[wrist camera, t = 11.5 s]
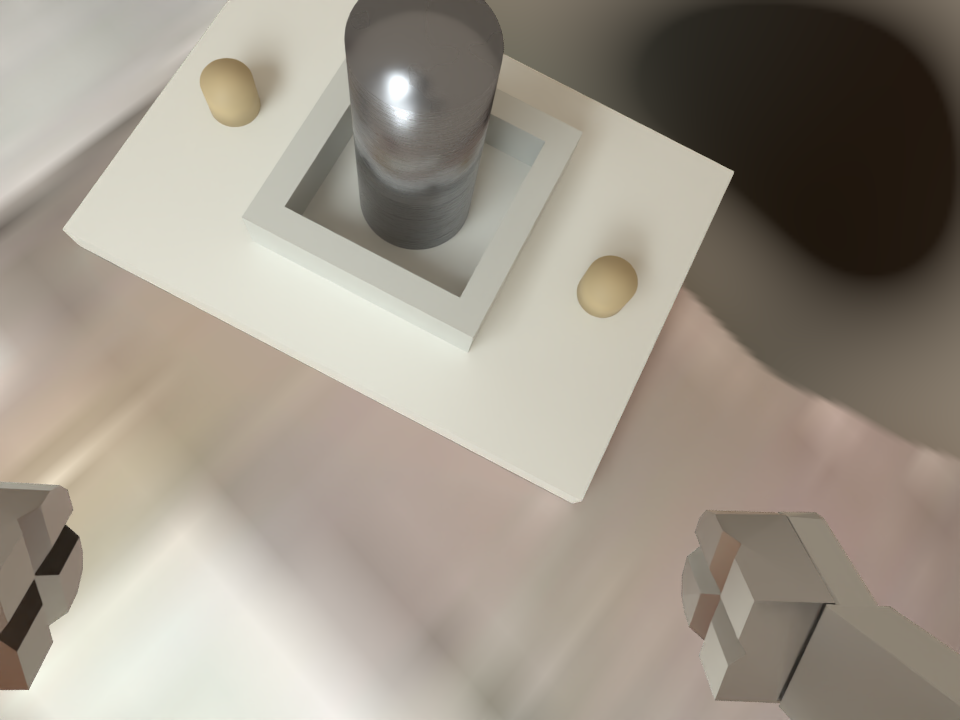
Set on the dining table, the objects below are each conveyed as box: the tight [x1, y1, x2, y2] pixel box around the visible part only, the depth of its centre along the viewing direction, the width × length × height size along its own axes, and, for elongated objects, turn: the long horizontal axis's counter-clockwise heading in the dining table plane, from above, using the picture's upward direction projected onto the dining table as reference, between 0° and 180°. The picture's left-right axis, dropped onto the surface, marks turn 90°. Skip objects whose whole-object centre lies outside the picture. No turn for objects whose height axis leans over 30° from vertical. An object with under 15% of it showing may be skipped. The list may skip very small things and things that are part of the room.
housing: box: [63, 0, 734, 504], centre depth 28 cm, size 20×14×4 cm
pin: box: [344, 0, 504, 250], centre depth 24 cm, size 4×4×9 cm
